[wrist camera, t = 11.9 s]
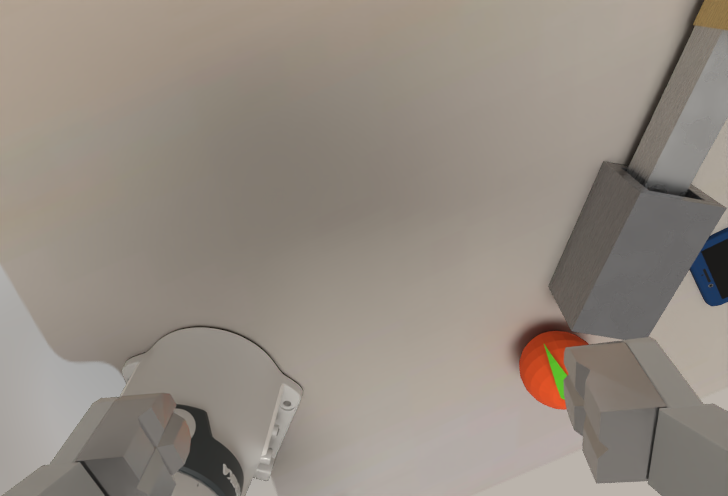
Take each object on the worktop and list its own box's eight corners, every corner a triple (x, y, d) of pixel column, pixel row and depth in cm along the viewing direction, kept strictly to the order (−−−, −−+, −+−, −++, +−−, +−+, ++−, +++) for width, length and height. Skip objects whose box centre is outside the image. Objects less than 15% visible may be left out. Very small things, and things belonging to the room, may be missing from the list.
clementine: (495, 326, 45) (512, 381, 39) (565, 296, 43) (595, 349, 37) (528, 379, 48) (548, 437, 42) (595, 353, 46) (627, 411, 40)
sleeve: (612, 297, 43) (644, 343, 38) (548, 286, 43) (571, 331, 37) (677, 174, 37) (726, 208, 32) (603, 161, 37) (640, 192, 31)
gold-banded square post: (655, 198, 37) (693, 229, 32) (614, 191, 37) (645, 221, 32) (808, -95, 28) (891, -109, 23) (752, -106, 28) (825, -123, 23)
